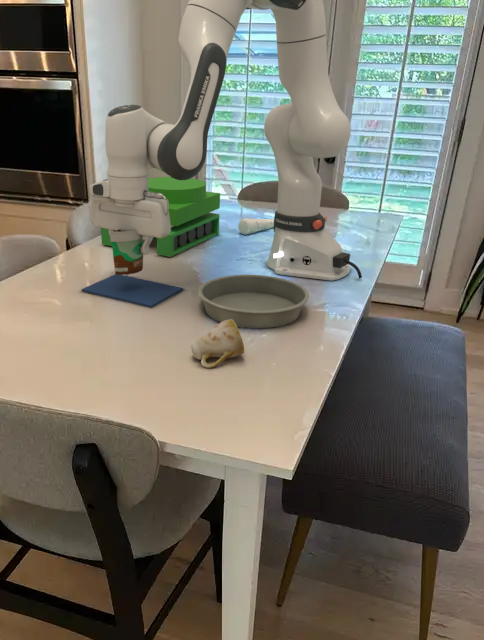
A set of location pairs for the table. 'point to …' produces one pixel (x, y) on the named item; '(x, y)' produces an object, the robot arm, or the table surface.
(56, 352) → the table surface
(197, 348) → the mug
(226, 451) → the table surface
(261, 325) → the cake pan
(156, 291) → the mat
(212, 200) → the tank
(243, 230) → the unicorn horn
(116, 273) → the food container
